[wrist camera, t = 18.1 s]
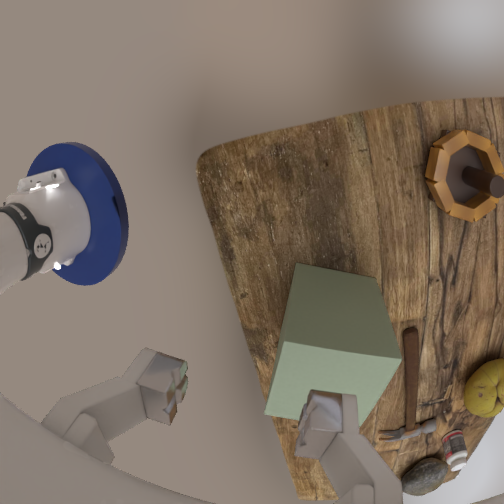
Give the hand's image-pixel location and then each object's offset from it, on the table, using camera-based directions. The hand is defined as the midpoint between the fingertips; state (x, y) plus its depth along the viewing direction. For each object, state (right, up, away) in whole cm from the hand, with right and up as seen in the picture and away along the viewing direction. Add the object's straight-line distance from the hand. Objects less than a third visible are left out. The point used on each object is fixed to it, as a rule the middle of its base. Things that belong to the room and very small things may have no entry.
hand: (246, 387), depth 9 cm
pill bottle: (+48, -39, +39) cm, 73 cm away
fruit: (+44, -18, +31) cm, 56 cm away
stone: (+46, -54, +45) cm, 84 cm away
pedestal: (+11, -3, +31) cm, 33 cm away
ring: (+25, +14, +19) cm, 35 cm away
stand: (+27, +14, +20) cm, 37 cm away
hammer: (+28, -20, +35) cm, 49 cm away
